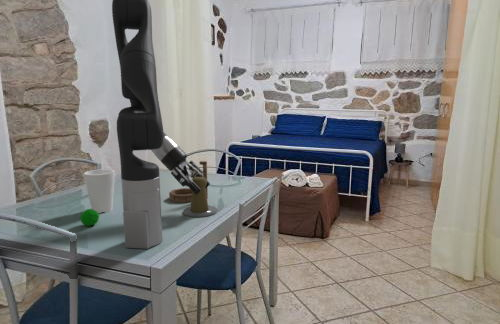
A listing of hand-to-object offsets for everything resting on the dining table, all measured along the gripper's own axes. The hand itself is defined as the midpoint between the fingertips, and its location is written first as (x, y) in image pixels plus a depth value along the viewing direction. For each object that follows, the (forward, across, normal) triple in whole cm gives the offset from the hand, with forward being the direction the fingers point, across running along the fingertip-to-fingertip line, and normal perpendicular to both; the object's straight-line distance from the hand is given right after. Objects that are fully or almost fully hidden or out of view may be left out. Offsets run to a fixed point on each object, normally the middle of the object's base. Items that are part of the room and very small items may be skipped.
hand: (203, 189), depth 117 cm
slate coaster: (+4, 0, +6) cm, 8 cm away
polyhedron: (-15, -18, +26) cm, 35 cm away
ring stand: (-2, +14, +13) cm, 19 cm away
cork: (+4, 0, +6) cm, 7 cm away
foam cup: (-19, -5, +30) cm, 35 cm away
